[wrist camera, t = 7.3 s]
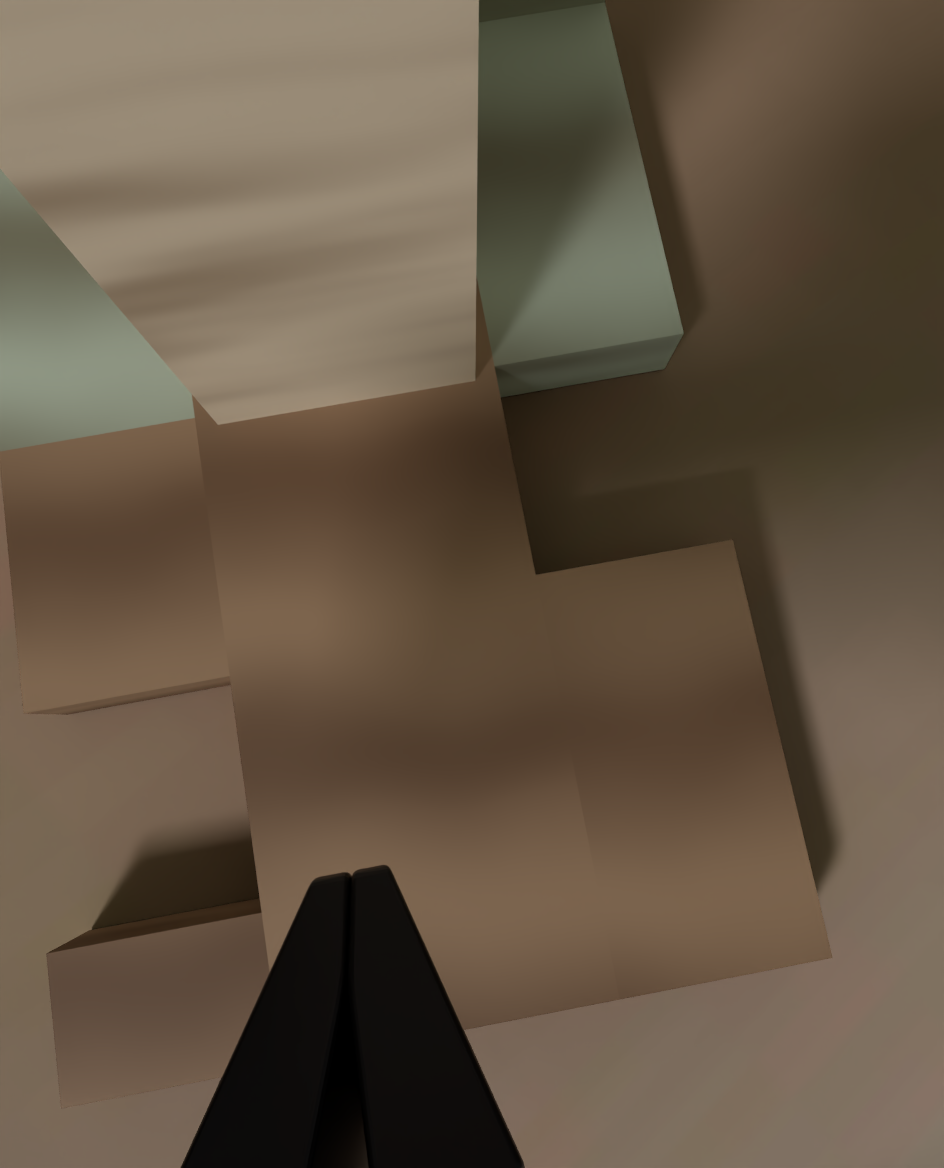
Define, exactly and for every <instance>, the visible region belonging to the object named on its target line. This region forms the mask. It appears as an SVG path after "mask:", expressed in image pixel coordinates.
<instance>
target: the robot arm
mask: <svg viewBox="0 0 944 1168" xmlns="http://www.w3.org/2000/svg"><path fill="white" fill-rule="evenodd" d="M181 1168H525V1167H524V1163H523V1160H522V1158H521V1156H520V1153H519V1151H518V1149H517V1147H516V1145H515V1142H514V1140H513V1138H512V1136H511V1134H510V1131H509V1129H508V1127H507V1125H506V1122H505V1120H504V1118H503V1116H502V1114H501V1111H500V1109H499V1107H498V1105H497V1103H496V1100H495V1098H494V1096H493V1094H492V1091H491V1089H490V1087H489V1085H488V1083H487V1080H486V1078H485V1076H484V1074H483V1072H482V1069H481V1067H480V1065H479V1063H478V1061H477V1058H476V1056H475V1054H474V1052H473V1049H472V1047H471V1045H470V1043H469V1041H468V1038H467V1036H466V1034H465V1032H464V1030H463V1027H462V1025H461V1023H460V1021H459V1019H458V1016H457V1014H456V1012H455V1010H454V1007H453V1005H452V1003H451V1001H450V999H449V996H448V994H447V992H446V990H445V988H444V985H443V983H442V981H441V979H440V976H439V974H438V972H437V970H436V968H435V965H434V963H433V961H432V959H431V957H430V954H429V952H428V950H427V948H426V946H425V943H424V941H423V939H422V937H421V934H420V932H419V930H418V928H417V926H416V923H415V921H414V919H413V917H412V915H411V912H410V910H409V908H408V906H407V903H406V901H405V899H404V897H403V895H402V892H401V890H400V888H399V886H398V884H397V881H396V879H395V877H394V875H393V873H392V871H391V869H390V867H389V866H387V865H379V866H374V867H369V868H363V869H358V870H356V871H355V872H354V873H353V875H352V876H351V874H350V873H348V872H342V873H337V874H331V875H326V876H321V877H317V878H315V879H314V880H313V881H312V882H311V884H310V885H309V887H308V889H307V891H306V894H305V896H304V898H303V900H302V902H301V905H300V907H299V909H298V911H297V913H296V916H295V918H294V920H293V922H292V924H291V927H290V929H289V931H288V933H287V935H286V938H285V940H284V942H283V944H282V946H281V949H280V951H279V953H278V955H277V957H276V959H275V962H274V964H273V966H272V968H271V970H270V973H269V975H268V977H267V979H266V981H265V984H264V986H263V988H262V990H261V992H260V995H259V997H258V999H257V1001H256V1003H255V1006H254V1008H253V1010H252V1012H251V1014H250V1017H249V1019H248V1021H247V1023H246V1025H245V1028H244V1030H243V1032H242V1034H241V1036H240V1038H239V1041H238V1043H237V1045H236V1047H235V1049H234V1052H233V1054H232V1056H231V1058H230V1060H229V1063H228V1065H227V1067H226V1069H225V1071H224V1074H223V1076H222V1078H221V1080H220V1082H219V1085H218V1087H217V1089H216V1091H215V1093H214V1096H213V1098H212V1100H211V1102H210V1104H209V1107H208V1109H207V1111H206V1113H205V1115H204V1117H203V1120H202V1122H201V1124H200V1126H199V1128H198V1131H197V1133H196V1135H195V1137H194V1139H193V1142H192V1144H191V1146H190V1148H189V1150H188V1153H187V1155H186V1157H185V1159H184V1161H183V1164H182V1166H181Z"/></svg>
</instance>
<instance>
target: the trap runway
mask: <svg viewBox="0 0 944 1168" xmlns="http://www.w3.org/2000/svg"><path fill="white" fill-rule="evenodd" d="M683 334H684V332H683V328H682V324H681V320H680V316H679V311H678V307H677V303H676V299H675V295H674V290H673V286H672V282H671V278H670V274H669V270H668V265H667V261H666V257H665V253H664V249H663V244H662V240H661V236H660V232H659V228H658V223H657V219H656V215H655V211H654V207H653V202H652V198H651V194H650V190H649V186H648V181H647V177H646V173H645V169H644V165H643V160H642V156H641V152H640V148H639V144H638V139H637V135H636V131H635V127H634V123H633V118H632V114H631V110H630V106H629V102H628V97H627V93H626V89H625V85H624V81H623V76H622V72H621V68H620V64H619V60H618V55H617V51H616V47H615V43H614V39H613V34H612V30H611V26H610V22H609V18H608V14H607V9H606V5H605V0H479V40H478V149H477V257H476V366H475V381H472V382H466V383H460V384H454V385H448V386H442V387H437V388H431V389H425V390H419V391H413V392H407V393H401V394H396V395H390V396H384V397H378V398H372V399H366V400H360V401H355V402H349V403H343V404H337V405H331V406H325V407H319V408H314V409H308V410H302V411H296V412H290V413H284V414H278V415H273V416H267V417H261V418H255V419H249V420H243V421H237V422H232V423H226V424H220V425H218V424H217V423H216V422H215V421H214V420H213V418H212V417H211V416H210V415H209V414H208V413H207V411H206V410H205V409H204V408H203V407H202V406H201V404H200V403H199V402H198V401H197V400H196V398H195V397H194V396H193V395H192V394H191V393H190V391H189V390H188V389H187V388H186V387H185V386H184V384H183V383H182V382H181V381H180V380H179V379H178V377H177V376H176V375H175V374H174V373H173V371H172V370H171V369H170V368H169V367H168V366H167V364H166V363H165V362H164V361H163V360H162V359H161V357H160V356H159V355H158V354H157V353H156V351H155V350H154V349H153V348H152V347H151V346H150V344H149V343H148V342H147V341H146V340H145V339H144V337H143V336H142V335H141V334H140V333H139V331H138V330H137V329H136V328H135V327H134V326H133V324H132V323H131V322H130V321H129V320H128V319H127V317H126V316H125V315H124V314H123V313H122V312H121V310H120V309H119V308H118V307H117V306H116V304H115V303H114V302H113V301H112V300H111V299H110V297H109V296H108V295H107V294H106V293H105V292H104V290H103V289H102V288H101V287H100V286H99V284H98V283H97V282H96V281H95V280H94V279H93V277H92V276H91V275H90V274H89V273H88V272H87V270H86V269H85V268H84V267H83V266H82V264H81V263H80V262H79V261H78V260H77V259H76V257H75V256H74V255H73V254H72V253H71V252H70V250H69V249H68V248H67V247H66V246H65V245H64V243H63V242H62V241H61V240H60V239H59V237H58V236H57V235H56V234H55V233H54V232H53V230H52V229H51V228H50V227H49V226H48V225H47V223H46V222H45V221H44V220H43V219H42V217H41V216H40V215H39V214H38V213H37V212H36V210H35V209H34V208H33V207H32V206H31V205H30V203H29V202H28V201H27V200H26V199H25V197H24V196H23V195H22V194H21V193H20V192H19V190H18V189H17V188H16V187H15V186H14V185H13V183H12V182H11V181H10V180H9V179H8V178H7V176H6V175H5V174H4V173H3V172H2V170H1V169H0V469H1V480H2V490H3V501H4V511H5V522H6V532H7V543H8V554H9V564H10V575H11V585H12V596H13V606H14V617H15V628H16V638H17V649H18V659H19V670H20V680H21V691H22V702H23V712H24V714H73V713H78V712H84V711H89V710H95V709H100V708H106V707H111V706H117V705H122V704H128V703H133V702H139V701H144V700H150V699H155V698H161V697H166V696H172V695H177V694H183V693H188V692H194V691H199V690H205V689H210V688H216V687H221V686H226V685H231V690H232V697H233V704H234V712H235V719H236V727H237V734H238V741H239V749H240V756H241V764H242V771H243V779H244V786H245V793H246V801H247V808H248V816H249V823H250V830H251V838H252V845H253V853H254V860H255V867H256V875H257V882H258V890H259V897H260V898H258V899H252V900H247V901H242V902H236V903H231V904H226V905H221V906H215V907H210V908H205V909H200V910H194V911H189V912H184V913H178V914H173V915H168V916H163V917H157V918H152V919H147V920H142V921H136V922H131V923H126V924H120V925H115V926H110V927H105V928H99V929H94V930H89V931H87V932H86V933H84V934H82V935H80V936H78V937H76V938H74V939H73V940H71V941H69V942H67V943H65V944H63V945H62V946H60V947H58V948H56V949H54V950H52V951H50V952H49V953H47V954H46V955H47V966H48V976H49V987H50V997H51V1008H52V1019H53V1029H54V1040H55V1050H56V1061H57V1071H58V1082H59V1093H60V1103H61V1109H62V1108H67V1107H72V1106H77V1105H82V1104H88V1103H93V1102H98V1101H103V1100H108V1099H113V1098H118V1097H123V1096H128V1095H134V1094H139V1093H144V1092H149V1091H154V1090H159V1089H164V1088H169V1087H174V1086H180V1085H185V1084H190V1083H195V1082H200V1081H205V1080H210V1079H215V1078H220V1077H222V1076H223V1074H224V1071H225V1069H226V1067H227V1065H228V1063H229V1060H230V1058H231V1056H232V1054H233V1052H234V1049H235V1047H236V1045H237V1043H238V1041H239V1038H240V1036H241V1034H242V1032H243V1030H244V1028H245V1025H246V1023H247V1021H248V1019H249V1017H250V1014H251V1012H252V1010H253V1008H254V1006H255V1003H256V1001H257V999H258V997H259V995H260V992H261V990H262V988H263V986H264V984H265V981H266V979H267V977H268V975H269V973H270V970H271V968H272V966H273V964H274V962H275V959H276V957H277V955H278V953H279V951H280V949H281V946H282V944H283V942H284V940H285V938H286V935H287V933H288V931H289V929H290V927H291V924H292V922H293V920H294V918H295V916H296V913H297V911H298V909H299V907H300V905H301V902H302V900H303V898H304V896H305V894H306V891H307V889H308V887H309V885H310V884H311V882H312V881H313V880H314V879H315V878H317V877H321V876H326V875H331V874H337V873H342V872H348V873H350V874H351V876H352V875H353V873H354V872H355V871H356V870H358V869H363V868H369V867H374V866H379V865H387V866H389V867H390V869H391V871H392V873H393V875H394V877H395V879H396V881H397V884H398V886H399V888H400V890H401V892H402V895H403V897H404V899H405V901H406V903H407V906H408V908H409V910H410V912H411V915H412V917H413V919H414V921H415V923H416V926H417V928H418V930H419V932H420V934H421V937H422V939H423V941H424V943H425V946H426V948H427V950H428V952H429V954H430V957H431V959H432V961H433V963H434V965H435V968H436V970H437V972H438V974H439V976H440V979H441V981H442V983H443V985H444V988H445V990H446V992H447V994H448V996H449V999H450V1001H451V1003H452V1005H453V1007H454V1010H455V1012H456V1014H457V1016H458V1019H459V1021H460V1023H461V1025H462V1027H463V1030H466V1029H471V1028H476V1027H481V1026H486V1025H491V1024H496V1023H502V1022H507V1021H512V1020H517V1019H522V1018H527V1017H532V1016H537V1015H542V1014H548V1013H553V1012H558V1011H563V1010H568V1009H573V1008H578V1007H583V1006H588V1005H594V1004H599V1003H604V1002H609V1001H614V1000H619V999H624V998H629V997H634V996H639V995H645V994H650V993H655V992H660V991H665V990H670V989H675V988H680V987H685V986H691V985H696V984H701V983H706V982H711V981H716V980H721V979H726V978H731V977H737V976H742V975H747V974H752V973H757V972H762V971H767V970H772V969H777V968H783V967H788V966H793V965H798V964H803V963H808V962H813V961H818V960H823V959H829V958H832V954H831V949H830V945H829V941H828V937H827V933H826V928H825V924H824V920H823V916H822V912H821V907H820V903H819V899H818V895H817V891H816V886H815V882H814V878H813V874H812V870H811V865H810V861H809V857H808V853H807V849H806V844H805V840H804V836H803V832H802V828H801V823H800V819H799V815H798V811H797V807H796V803H795V798H794V794H793V790H792V786H791V782H790V777H789V773H788V769H787V765H786V761H785V756H784V752H783V748H782V744H781V740H780V735H779V731H778V727H777V723H776V719H775V714H774V710H773V706H772V702H771V698H770V693H769V689H768V685H767V681H766V677H765V672H764V668H763V664H762V660H761V656H760V651H759V647H758V643H757V639H756V635H755V630H754V626H753V622H752V618H751V614H750V609H749V605H748V601H747V597H746V593H745V588H744V584H743V580H742V576H741V572H740V567H739V563H738V559H737V555H736V551H735V546H734V542H733V539H732V540H727V541H721V542H716V543H710V544H704V545H699V546H693V547H688V548H682V549H677V550H671V551H666V552H660V553H655V554H649V555H643V556H638V557H632V558H627V559H621V560H616V561H610V562H605V563H599V564H593V565H588V566H582V567H577V568H571V569H566V570H560V571H555V572H549V573H544V574H538V575H536V574H535V569H534V564H533V559H532V554H531V549H530V543H529V538H528V533H527V528H526V523H525V518H524V513H523V508H522V503H521V498H520V493H519V488H518V483H517V478H516V473H515V468H514V463H513V458H512V453H511V447H510V442H509V437H508V432H507V427H506V422H505V417H504V412H503V407H502V402H501V397H506V396H512V395H518V394H524V393H529V392H535V391H541V390H547V389H552V388H558V387H564V386H570V385H575V384H581V383H587V382H593V381H598V380H604V379H610V378H616V377H621V376H627V375H633V374H639V373H644V372H650V371H656V370H662V369H665V367H666V365H667V363H668V362H669V360H670V358H671V356H672V354H673V352H674V351H675V349H676V347H677V345H678V343H679V341H680V339H681V338H682V336H683Z"/></svg>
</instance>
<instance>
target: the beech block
mask: <svg viewBox="0 0 944 1168" xmlns="http://www.w3.org/2000/svg"><path fill="white" fill-rule="evenodd" d="M478 40H479V0H0V169H1V170H2V172H3V173H4V174H5V175H6V176H7V178H8V179H9V180H10V181H11V182H12V183H13V185H14V186H15V187H16V188H17V189H18V190H19V192H20V193H21V194H22V195H23V196H24V197H25V199H26V200H27V201H28V202H29V203H30V205H31V206H32V207H33V208H34V209H35V210H36V212H37V213H38V214H39V215H40V216H41V217H42V219H43V220H44V221H45V222H46V223H47V225H48V226H49V227H50V228H51V229H52V230H53V232H54V233H55V234H56V235H57V236H58V237H59V239H60V240H61V241H62V242H63V243H64V245H65V246H66V247H67V248H68V249H69V250H70V252H71V253H72V254H73V255H74V256H75V257H76V259H77V260H78V261H79V262H80V263H81V264H82V266H83V267H84V268H85V269H86V270H87V272H88V273H89V274H90V275H91V276H92V277H93V279H94V280H95V281H96V282H97V283H98V284H99V286H100V287H101V288H102V289H103V290H104V292H105V293H106V294H107V295H108V296H109V297H110V299H111V300H112V301H113V302H114V303H115V304H116V306H117V307H118V308H119V309H120V310H121V312H122V313H123V314H124V315H125V316H126V317H127V319H128V320H129V321H130V322H131V323H132V324H133V326H134V327H135V328H136V329H137V330H138V331H139V333H140V334H141V335H142V336H143V337H144V339H145V340H146V341H147V342H148V343H149V344H150V346H151V347H152V348H153V349H154V350H155V351H156V353H157V354H158V355H159V356H160V357H161V359H162V360H163V361H164V362H165V363H166V364H167V366H168V367H169V368H170V369H171V370H172V371H173V373H174V374H175V375H176V376H177V377H178V379H179V380H180V381H181V382H182V383H183V384H184V386H185V387H186V388H187V389H188V390H189V391H190V393H191V394H192V395H193V396H194V397H195V398H196V400H197V401H198V402H199V403H200V404H201V406H202V407H203V408H204V409H205V410H206V411H207V413H208V414H209V415H210V416H211V417H212V418H213V420H214V421H215V422H216V423H217V424H218V425H220V424H226V423H232V422H237V421H243V420H249V419H255V418H261V417H267V416H273V415H278V414H284V413H290V412H296V411H302V410H308V409H314V408H319V407H325V406H331V405H337V404H343V403H349V402H355V401H360V400H366V399H372V398H378V397H384V396H390V395H396V394H401V393H407V392H413V391H419V390H425V389H431V388H437V387H442V386H448V385H454V384H460V383H466V382H472V381H475V366H476V257H477V149H478Z"/></svg>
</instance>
